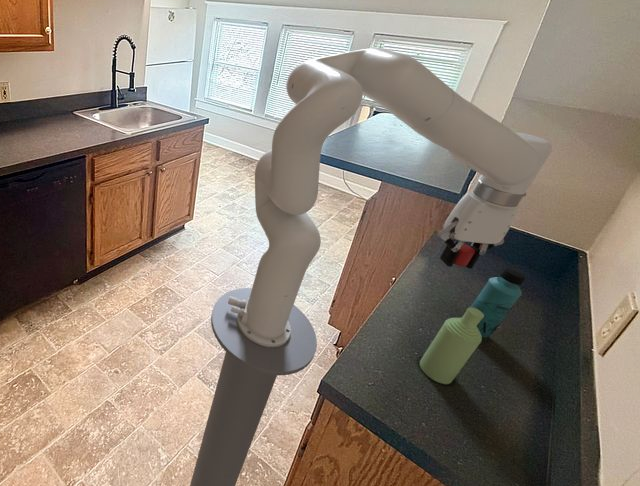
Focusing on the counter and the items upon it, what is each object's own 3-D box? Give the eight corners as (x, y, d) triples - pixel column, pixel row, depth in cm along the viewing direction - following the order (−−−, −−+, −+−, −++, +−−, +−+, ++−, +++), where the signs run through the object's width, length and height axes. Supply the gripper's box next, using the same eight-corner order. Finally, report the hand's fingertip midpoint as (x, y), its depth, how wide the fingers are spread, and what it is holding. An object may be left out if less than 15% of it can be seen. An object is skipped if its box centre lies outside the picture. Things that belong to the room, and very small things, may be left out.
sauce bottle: (422, 376, 83) (462, 317, 74) (417, 354, 88) (453, 296, 80) (456, 388, 81) (500, 329, 73) (448, 364, 87) (489, 306, 78)
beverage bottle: (451, 322, 98) (490, 263, 89) (471, 320, 100) (512, 261, 91) (474, 344, 93) (518, 282, 83) (495, 341, 94) (541, 280, 85)
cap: (463, 257, 86) (471, 244, 85) (470, 268, 83) (478, 255, 81) (444, 253, 87) (451, 240, 86) (450, 263, 84) (458, 250, 82)
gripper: (522, 188, 80) (480, 256, 89) (444, 180, 80) (409, 249, 89) (553, 207, 74) (504, 278, 82) (468, 198, 74) (428, 271, 82)
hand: (455, 262), depth 85 cm, fingers closed on cap, 3 cm apart
